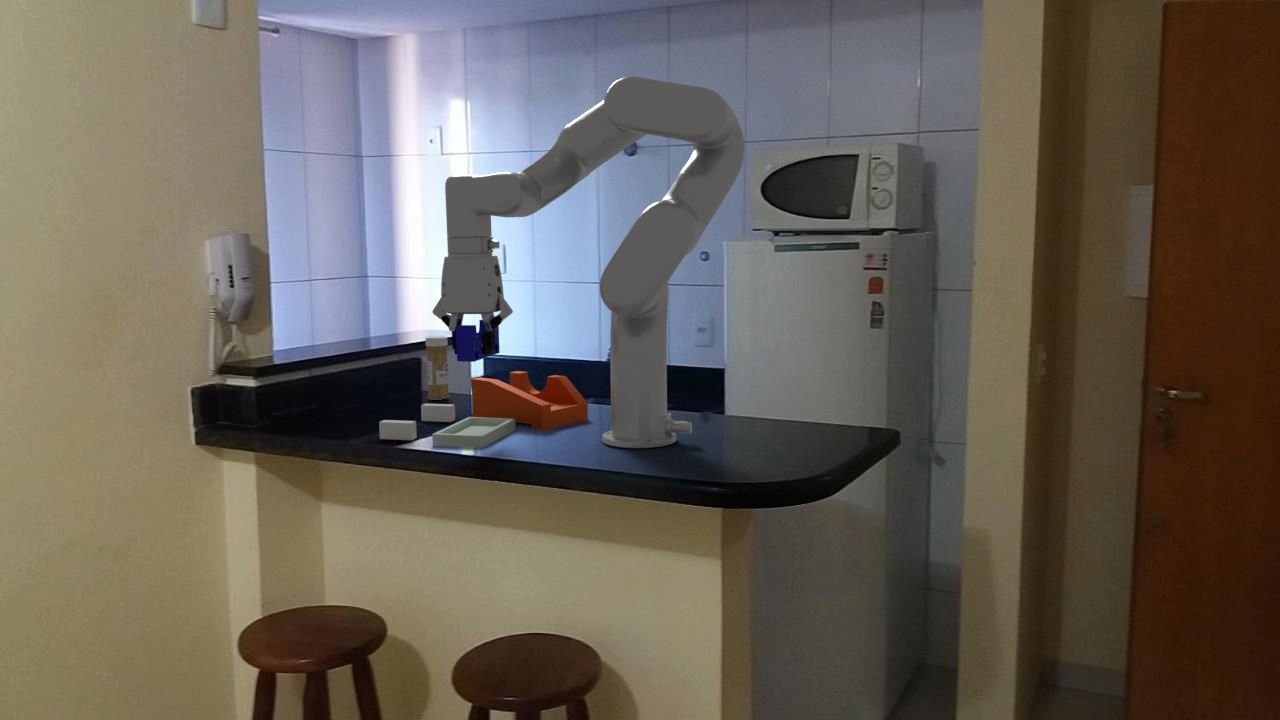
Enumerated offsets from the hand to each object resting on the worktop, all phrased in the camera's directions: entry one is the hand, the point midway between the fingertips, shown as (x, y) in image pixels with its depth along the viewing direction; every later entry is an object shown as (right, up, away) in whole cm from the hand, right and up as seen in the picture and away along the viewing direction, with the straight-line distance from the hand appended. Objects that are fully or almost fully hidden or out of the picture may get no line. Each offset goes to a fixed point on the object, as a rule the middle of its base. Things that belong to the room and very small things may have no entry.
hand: (473, 352), depth 184 cm
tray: (0, -15, +2) cm, 15 cm away
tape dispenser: (+8, -13, +18) cm, 24 cm away
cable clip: (0, -1, +1) cm, 1 cm away
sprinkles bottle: (-14, -10, +42) cm, 45 cm away
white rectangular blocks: (-12, -14, +10) cm, 21 cm away
